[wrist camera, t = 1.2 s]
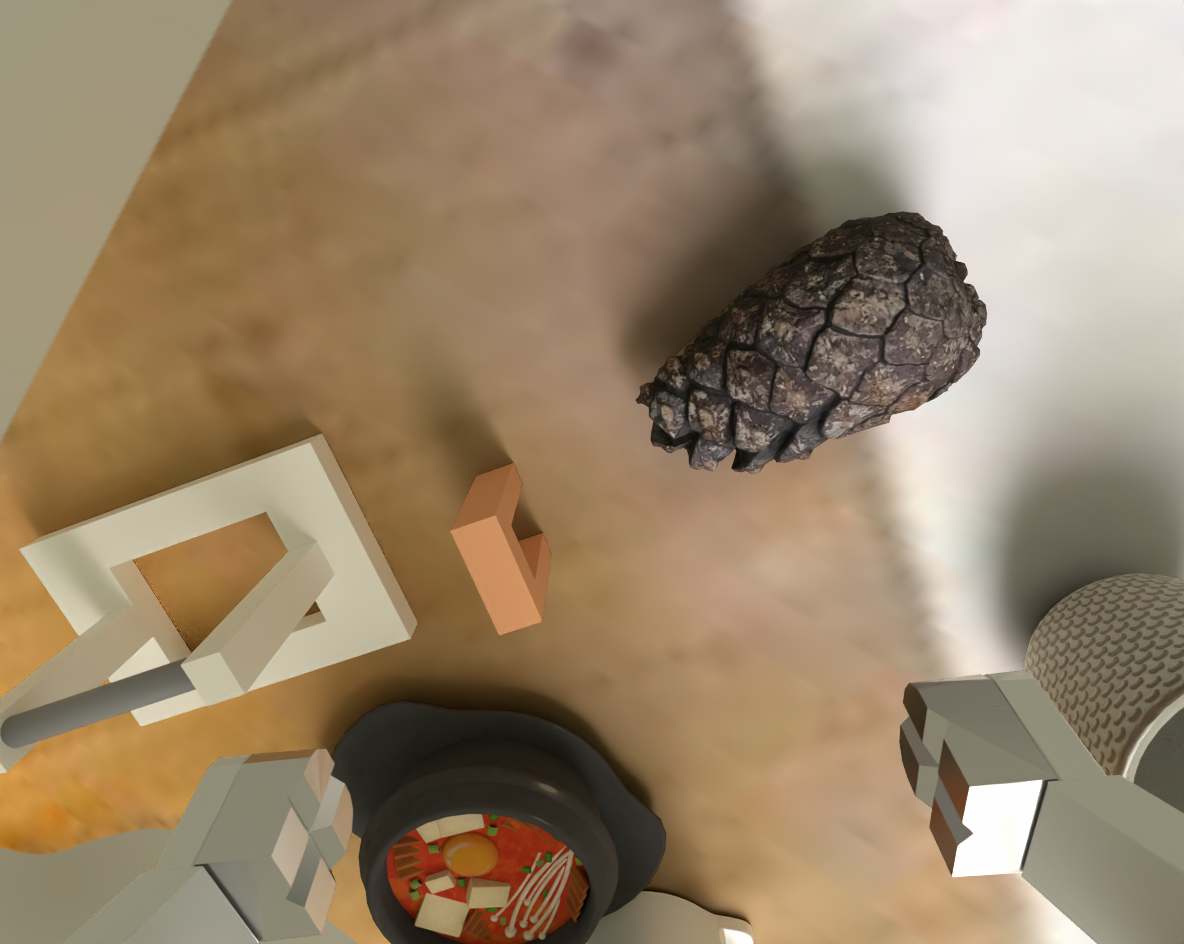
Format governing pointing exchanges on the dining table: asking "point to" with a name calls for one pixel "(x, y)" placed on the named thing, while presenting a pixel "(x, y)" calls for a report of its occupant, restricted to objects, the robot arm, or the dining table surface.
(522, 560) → the orange block
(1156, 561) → the dining table surface
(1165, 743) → the planter
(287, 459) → the toilet paper holder
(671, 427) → the pine cone
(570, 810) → the casserole
